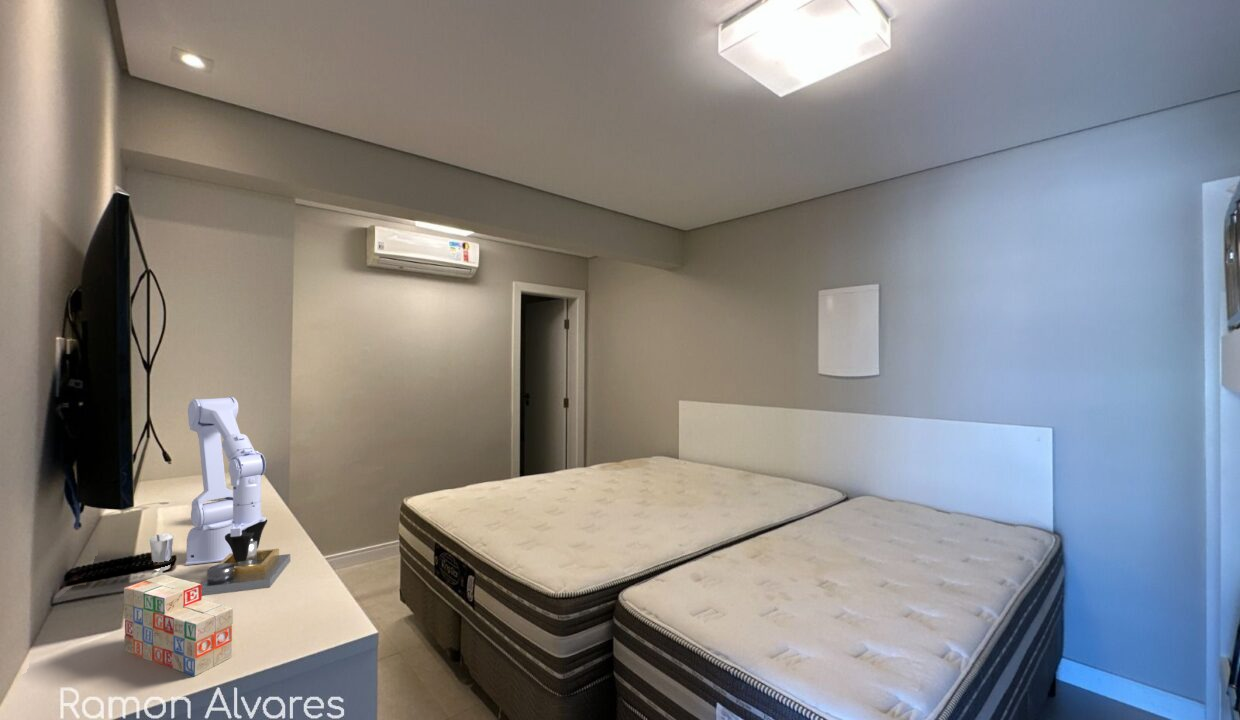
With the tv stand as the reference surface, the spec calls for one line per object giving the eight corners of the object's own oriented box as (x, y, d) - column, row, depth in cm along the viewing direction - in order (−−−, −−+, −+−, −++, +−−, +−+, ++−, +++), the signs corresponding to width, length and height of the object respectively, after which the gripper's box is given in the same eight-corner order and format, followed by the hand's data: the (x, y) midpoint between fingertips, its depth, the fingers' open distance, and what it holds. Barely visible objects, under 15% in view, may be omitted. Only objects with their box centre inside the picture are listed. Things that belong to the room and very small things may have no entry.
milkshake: (145, 575, 125) (145, 536, 125) (153, 567, 130) (153, 529, 130) (169, 572, 128) (169, 533, 127) (176, 564, 132) (176, 527, 132)
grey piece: (199, 595, 115) (199, 574, 115) (228, 568, 130) (228, 549, 130) (270, 587, 120) (270, 566, 120) (290, 561, 135) (290, 543, 135)
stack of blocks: (233, 657, 92) (233, 591, 92) (194, 678, 86) (194, 607, 86) (163, 634, 100) (163, 573, 100) (123, 651, 94) (123, 586, 94)
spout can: (232, 571, 124) (232, 543, 124) (238, 564, 128) (238, 537, 128) (253, 568, 125) (254, 541, 125) (259, 562, 129) (259, 535, 129)
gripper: (255, 509, 121) (254, 564, 121) (275, 493, 135) (274, 543, 135) (220, 511, 119) (219, 568, 119) (244, 495, 132) (243, 546, 132)
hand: (246, 555), depth 126 cm, fingers open, 7 cm apart
